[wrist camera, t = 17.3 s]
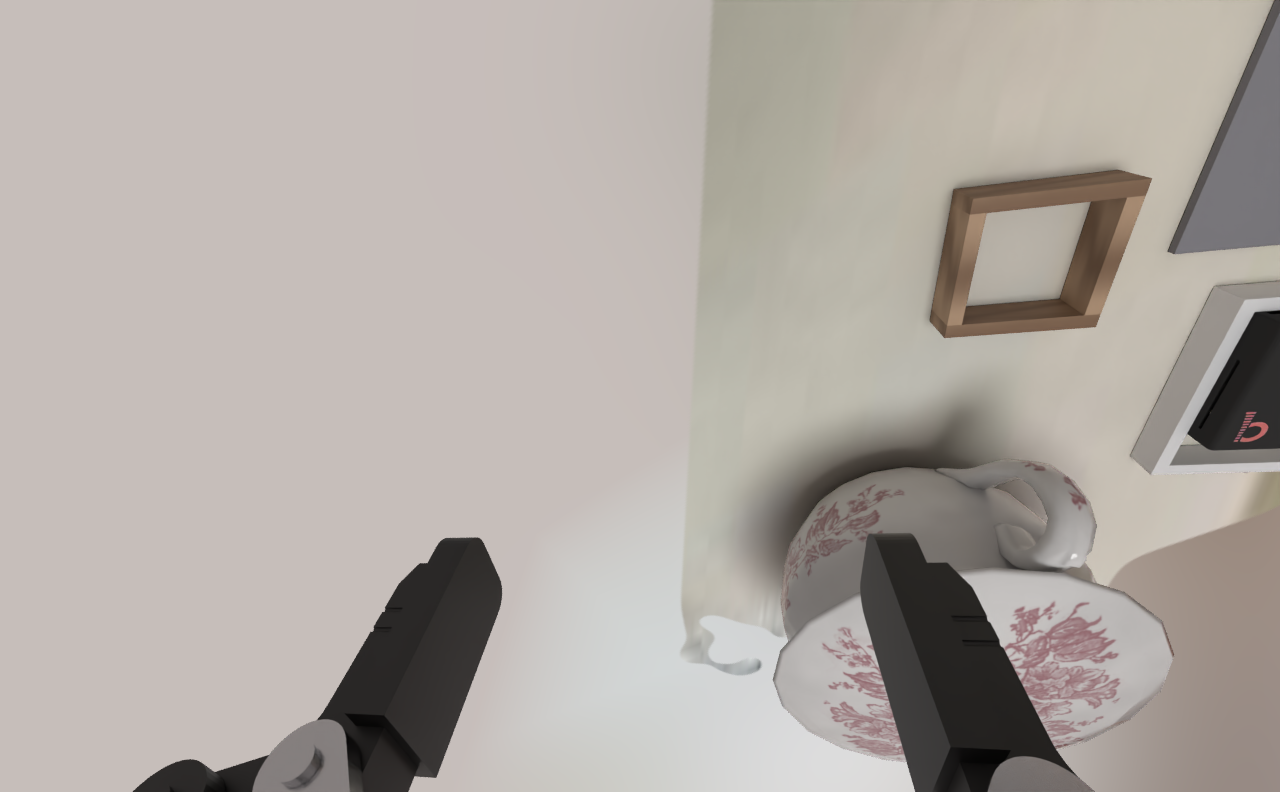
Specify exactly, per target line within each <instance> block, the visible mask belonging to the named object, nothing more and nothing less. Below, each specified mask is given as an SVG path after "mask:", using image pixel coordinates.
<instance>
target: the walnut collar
mask: <svg viewBox="0 0 1280 792" xmlns="http://www.w3.org/2000/svg"><path fill="white" fill-rule="evenodd" d="M1151 180H1152V178H1148V177H1144V176H1141V175H1137V174H1133V173H1129V172H1125V171H1121V170H1114V171H1105V172H1097V173H1088V174H1080V175H1071V176H1062V177H1054V178H1045V179H1037V180H1028V181H1020V182H1011V183H1003V184H994V185H986V186H977V187H969V188H960V189H954V191H953V197H952V202H951V208H950V213H949V219H948V224H947V229H946V235H945V240H944V246H943V251H942V257H941V262H940V267H939V273H938V278H937V284H936V289H935V295H934V300H933V305H932V311H931V316H930V322H931V323H932V324H933V325H934V327H935V328H936V329H937V330H938V331H939V332H940V333H941V334H942V336H943V337H944V338H951V337H965V336H979V335H992V334H1006V333H1020V332H1034V331H1047V330H1061V329H1075V328H1089V327H1096V325H1097V322H1098V320H1099V317H1100V314H1101V312H1102V309H1103V307H1104V304H1105V301H1106V299H1107V296H1108V293H1109V291H1110V288H1111V286H1112V283H1113V280H1114V278H1115V275H1116V272H1117V270H1118V267H1119V264H1120V262H1121V259H1122V257H1123V254H1124V251H1125V249H1126V246H1127V243H1128V241H1129V238H1130V236H1131V233H1132V230H1133V228H1134V225H1135V222H1136V220H1137V217H1138V215H1139V212H1140V209H1141V207H1142V204H1143V201H1144V199H1145V196H1146V193H1147V191H1148V188H1149V186H1150V183H1151ZM1082 202H1091V205H1090V208H1089V211H1088V214H1087V217H1086V220H1085V223H1084V226H1083V229H1082V232H1081V236H1080V239H1079V242H1078V245H1077V248H1076V251H1075V254H1074V257H1073V260H1072V263H1071V266H1070V269H1069V272H1068V275H1067V278H1066V281H1065V284H1064V288H1063V291H1062V294H1061V297H1060V299H1054V300H1042V301H1029V302H1017V303H1005V304H992V305H980V306H968V307H966V304H967V299H968V295H969V290H970V286H971V281H972V277H973V272H974V268H975V263H976V259H977V254H978V250H979V245H980V241H981V236H982V232H983V227H984V223H985V218H986V214H987V213H991V212H1000V211H1009V210H1018V209H1027V208H1036V207H1046V206H1055V205H1064V204H1073V203H1082Z"/></svg>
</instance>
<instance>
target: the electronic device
mask: <svg viewBox="0 0 1280 792" xmlns="http://www.w3.org/2000/svg"><path fill="white" fill-rule="evenodd" d="M1211 410H1212V411H1211ZM1210 411H1211V413H1210ZM1187 434H1188V435H1190V436H1191V437H1192V438H1194V439H1195V440H1196V441H1198V442H1199V443H1200V444H1201V445H1203V446H1204V447H1205V448H1207V449H1209V450H1212V451H1219V450H1251V449H1280V310H1275V311H1262V312H1254V314H1253V316H1252V318H1251V320H1250V321H1249V323H1248V325H1247V327H1246V329H1245V330H1244V332H1243V334H1242V336H1241V338H1240V339H1239V341H1238V343H1237V345H1236V347H1235V348H1234V350H1233V352H1232V354H1231V356H1230V357H1229V359H1228V361H1227V363H1226V365H1225V366H1224V368H1223V370H1222V372H1221V374H1220V375H1219V377H1218V379H1217V381H1216V383H1215V384H1214V386H1213V388H1212V390H1211V392H1210V393H1209V395H1208V397H1207V399H1206V400H1205V402H1204V404H1203V406H1202V408H1201V409H1200V411H1199V413H1198V415H1197V417H1196V418H1195V420H1194V422H1193V424H1192V426H1191V427H1190V429H1189V431H1188V433H1187Z"/></svg>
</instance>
